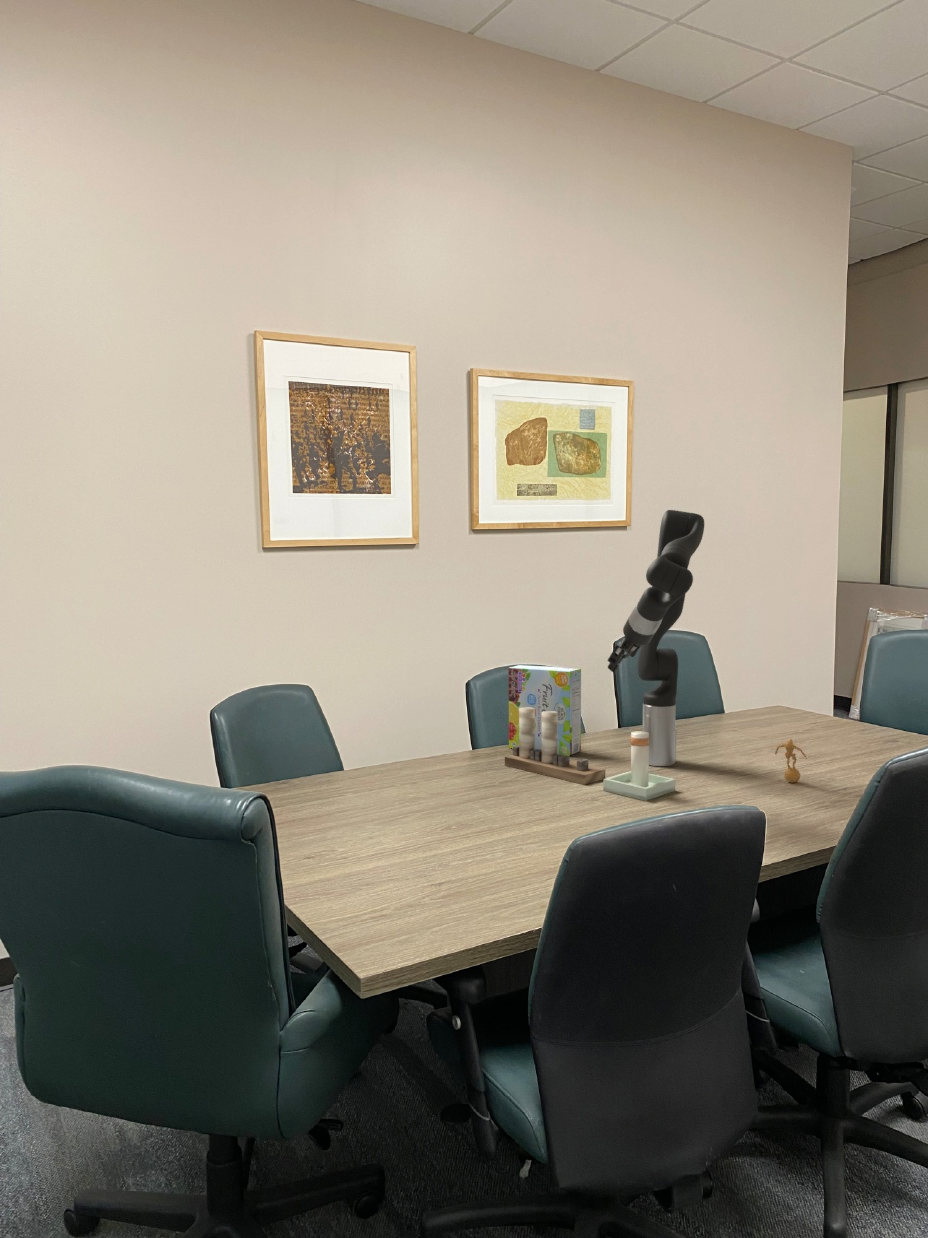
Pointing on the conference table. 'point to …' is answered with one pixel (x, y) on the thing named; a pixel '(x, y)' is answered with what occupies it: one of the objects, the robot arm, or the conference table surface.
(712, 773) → the conference table surface
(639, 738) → the marked fuse
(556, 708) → the snack box
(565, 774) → the rail
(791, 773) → the figurine
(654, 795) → the tray
